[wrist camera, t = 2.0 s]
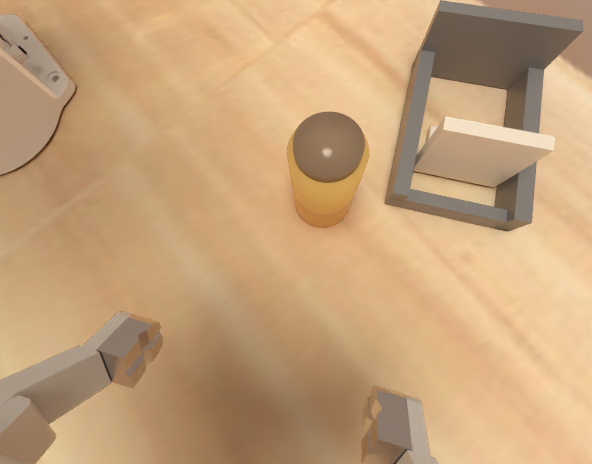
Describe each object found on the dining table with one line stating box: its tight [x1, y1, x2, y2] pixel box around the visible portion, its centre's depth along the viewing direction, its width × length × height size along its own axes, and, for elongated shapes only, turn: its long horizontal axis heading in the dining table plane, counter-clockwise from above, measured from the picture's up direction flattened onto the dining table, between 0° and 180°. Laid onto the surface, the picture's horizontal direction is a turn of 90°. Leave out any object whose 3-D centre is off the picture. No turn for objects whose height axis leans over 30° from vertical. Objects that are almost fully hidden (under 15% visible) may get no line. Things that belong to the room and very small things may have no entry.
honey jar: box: [287, 112, 369, 228], centre depth 23 cm, size 6×6×11 cm
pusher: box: [413, 116, 555, 187], centre depth 25 cm, size 5×8×7 cm, turn 75°
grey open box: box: [385, 0, 583, 231], centre depth 26 cm, size 17×12×7 cm
